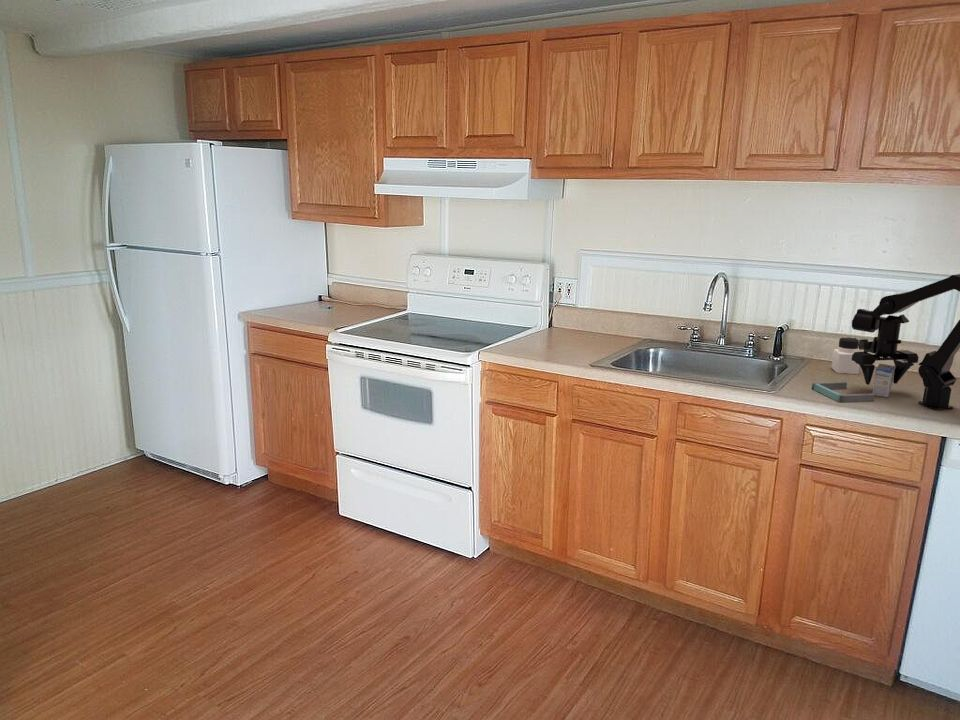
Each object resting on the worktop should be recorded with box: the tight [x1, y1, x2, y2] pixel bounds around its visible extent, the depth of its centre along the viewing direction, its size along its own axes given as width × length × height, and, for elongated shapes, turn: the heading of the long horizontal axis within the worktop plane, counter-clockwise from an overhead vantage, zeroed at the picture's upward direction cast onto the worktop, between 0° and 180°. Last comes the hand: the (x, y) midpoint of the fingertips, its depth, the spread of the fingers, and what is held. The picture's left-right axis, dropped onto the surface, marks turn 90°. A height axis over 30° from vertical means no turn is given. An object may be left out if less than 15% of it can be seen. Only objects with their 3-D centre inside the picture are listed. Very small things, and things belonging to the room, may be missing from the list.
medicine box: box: [871, 363, 895, 398], centre depth 222 cm, size 8×4×9 cm, turn 145°
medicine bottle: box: [831, 336, 861, 375], centre depth 247 cm, size 7×7×12 cm
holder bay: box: [811, 381, 875, 403], centre depth 221 cm, size 14×11×2 cm
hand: (881, 383), depth 223 cm, fingers open, 9 cm apart
